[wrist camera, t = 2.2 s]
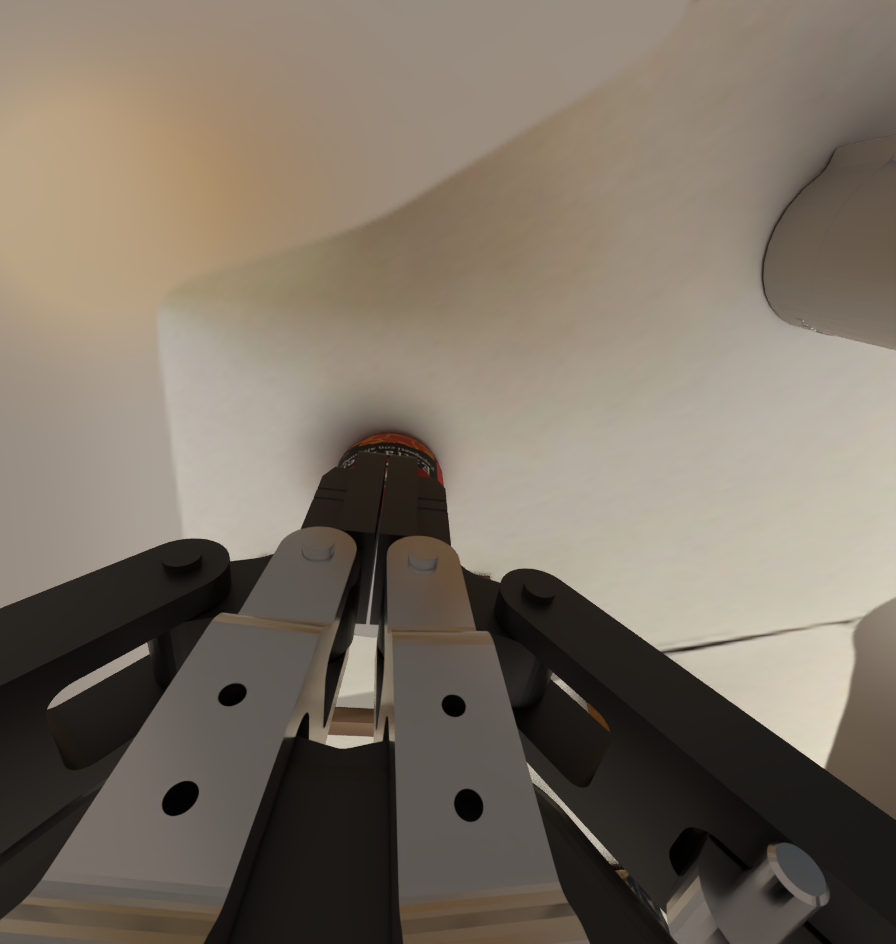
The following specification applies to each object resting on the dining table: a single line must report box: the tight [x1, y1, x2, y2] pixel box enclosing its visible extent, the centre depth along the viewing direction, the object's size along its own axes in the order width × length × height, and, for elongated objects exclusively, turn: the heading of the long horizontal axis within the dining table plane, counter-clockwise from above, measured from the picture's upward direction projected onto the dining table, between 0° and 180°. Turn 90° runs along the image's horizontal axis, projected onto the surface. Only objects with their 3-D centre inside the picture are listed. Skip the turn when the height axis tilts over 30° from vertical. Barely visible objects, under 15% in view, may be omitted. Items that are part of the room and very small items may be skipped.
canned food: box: [338, 433, 444, 637], centre depth 28 cm, size 8×8×11 cm
